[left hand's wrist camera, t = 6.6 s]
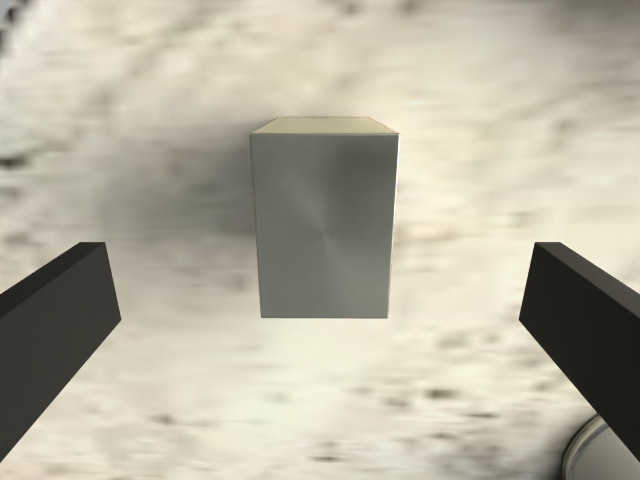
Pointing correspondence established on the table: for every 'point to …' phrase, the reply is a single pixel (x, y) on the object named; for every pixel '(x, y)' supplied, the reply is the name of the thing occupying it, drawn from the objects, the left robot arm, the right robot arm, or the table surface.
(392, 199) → the brick
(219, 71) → the table surface
